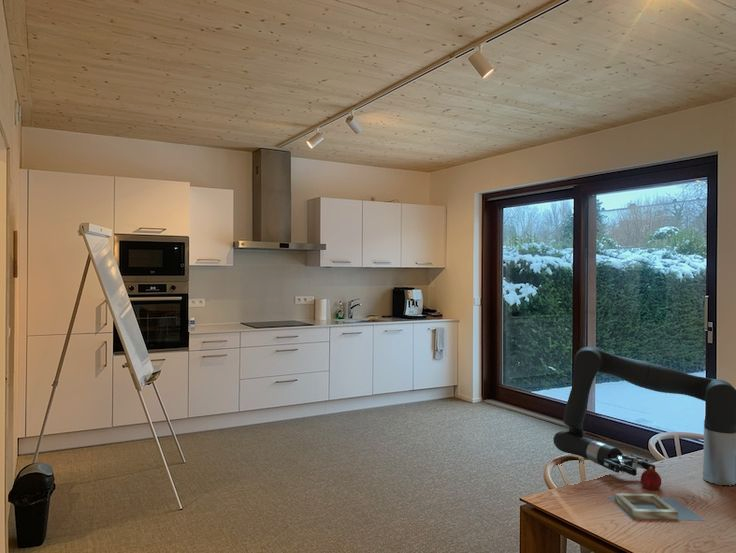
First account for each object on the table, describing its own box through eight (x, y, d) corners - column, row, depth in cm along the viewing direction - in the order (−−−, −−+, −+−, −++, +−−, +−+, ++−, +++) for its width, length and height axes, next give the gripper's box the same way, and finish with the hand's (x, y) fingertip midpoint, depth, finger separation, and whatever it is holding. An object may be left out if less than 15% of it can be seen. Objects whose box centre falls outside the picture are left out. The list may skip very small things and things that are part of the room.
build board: (673, 502, 164) (673, 497, 164) (704, 525, 149) (704, 520, 149) (607, 501, 164) (607, 496, 164) (631, 524, 149) (631, 519, 149)
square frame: (654, 500, 161) (655, 493, 161) (678, 519, 149) (678, 511, 149) (614, 499, 161) (614, 493, 161) (634, 518, 149) (634, 511, 149)
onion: (663, 496, 168) (664, 471, 168) (643, 494, 169) (644, 469, 169) (657, 489, 173) (658, 464, 173) (638, 487, 175) (638, 462, 174)
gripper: (588, 446, 185) (629, 462, 170) (618, 441, 191) (660, 456, 176) (588, 468, 185) (629, 485, 170) (618, 462, 191) (660, 479, 176)
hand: (645, 470), depth 173 cm, fingers open, 8 cm apart
